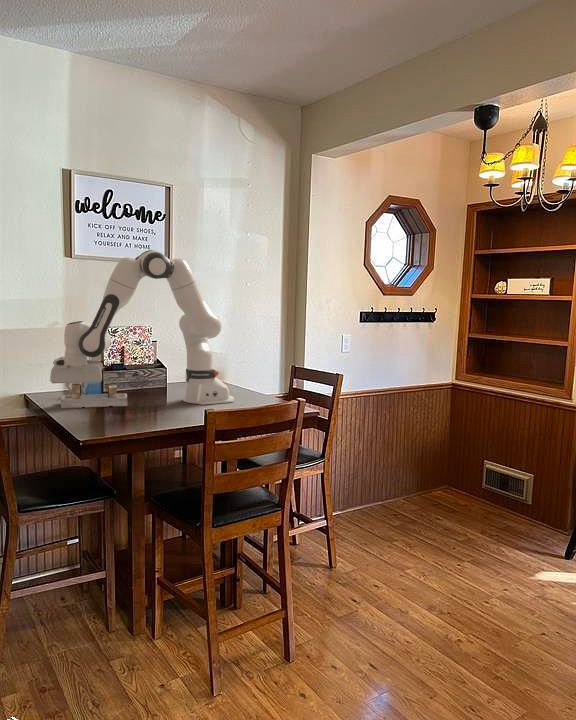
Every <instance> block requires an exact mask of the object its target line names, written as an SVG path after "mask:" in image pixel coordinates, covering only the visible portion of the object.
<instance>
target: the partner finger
mask: <svg viewBox="0 0 576 720" xmlns="http://www.w3.org/2000/svg"><path fill="white" fill-rule="evenodd" d="M117 389H118V388H117V384H116V385H109V386H108V387H107V394H108V398H114V397H117V394H118V393H117Z"/></svg>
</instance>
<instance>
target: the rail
mask: <svg viewBox="0 0 576 720" xmlns="http://www.w3.org/2000/svg"><path fill="white" fill-rule="evenodd" d="M109 406H113V407H128V394H127V393H117V397H114V398H108V393H101V394H90V395H81V397H80V399H72V394H64V395H62V396H61V398H60V409H80V408H81V409H82V407H85V408H103V407H105V408H106V407H107V408H108V407H109ZM109 408H110V407H109Z"/></svg>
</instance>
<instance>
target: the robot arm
mask: <svg viewBox="0 0 576 720" xmlns="http://www.w3.org/2000/svg"><path fill="white" fill-rule="evenodd" d="M145 277H149V278H151V279H155V280H161V279H165V280H167V283H168V285H169V287H170V290H171V292H172V295H173V297H174V299H175V301H176V305H177V306H178V308H179V309H180V310H181V311H182V312H183V313H184V314H183V315H181V317H180V319H179V321H178V325H179V329H180V330H181V332H182V335H183V336H182V337H183V339H184V345H185V349H186V369H185V382H186V383H185V389H184V390H185V391H184V395H183V399H182V400H183V402H185V403H188V404H189V403H190V404H196V405H215V404H225V403H226V404H227V403H233V402H235V396H233V395H230V389H229V387H228V385H227V384H226V383H225V382H223V381H222V380H221V379H220V378H218V376H220V375H219V374H220V372H219V371H218V370H216V369H214V368H213V351H212V348H211V347H210V344H209V340H210V339H214V338H216V337H218V336H219V335H220V333H221V332H222V322H221V321H220V319H219V318H218V317H217V316H216V315H215V314H214V313H213V311H212V309H211V308H210V306H209V305H208V303H207V302H206V301H205V299H204V296H203V295H202V291H201V290H200V288H199V285H198V282H197V280H196V278H195V275H194V273H193V271H192V269H191V267H190V266H189V264H188V263H187V261H186V260H184V258H173V259H170V258H169V257H167V256H166V255H165V254H163V253H162V252H160V251H158V250H155V249H154V250H152V249H149V250H146V251H143V252H142V253H140V254H139V255H138V256H137V257H135V258H133V257H125V256H124V257H122V258H121V259H120V260H119V261H118V262H117V264H116V265H115V268H114V269H113V271H112V272H111V274H110V277H109V279H108V281H107V284H106V287H105V291H104V294H103V297H102V299H101V303H100V307H99V308H98V311H97V312H96V315H95V317H94V319H93V321H92V323H91V325H90V324H88V323H87V322H86V321H84V320H83V321H82V320H79V321H77V320H76V321H73V322H69V323H67V324H66V325H65V328H64V333H63V334H64V340H63V341H64V346H65V349H64V356H61V357H57V358H56V359H53V362H52V363H53V364H52V365H53V366H52V368H51V369H50V377H49V378H50V379H49V381H50V383H51V384H65V388H66V389H67V391H68V395H72V388H71V387H70V384H73V383H80V384H82V383H84V385H85V387H84V388H83V389H81V393H85V389H86V387H87V385H88V383H96V382H101V383H102V381H103V373H102V370H103V368H104V365H103V362H102V361H100V360H99V359H95V360H92V359H89V360H88V357H89V358H96V357H99V356H100V355H101V354H103V353H104V352H106V351H107V350H108V349H109V348H110V346H111V344H112V338H111V335H110V334H109V332H108V330H109V327H110V326H111V323H112V321H113V319H114V317H115V316H116V314H117V313H118V312H119V311H120V310H121V309H122V308H124V307H125V306H126V305H127V304H128V303H129V302H130V300H131V299H132V297H133V295H134V293H136V289H137V287H138V284H139V283H140V281H141V279H143V278H145Z"/></svg>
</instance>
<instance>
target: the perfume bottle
mask: <svg viewBox="0 0 576 720" xmlns="http://www.w3.org/2000/svg"><path fill="white" fill-rule="evenodd" d="M81 384H82V389H83V388H84V387H85V385H84V383H81ZM90 394H102V381H101V382H96V383H88V385H87V387H86V389H85V393H82V395H90Z"/></svg>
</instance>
